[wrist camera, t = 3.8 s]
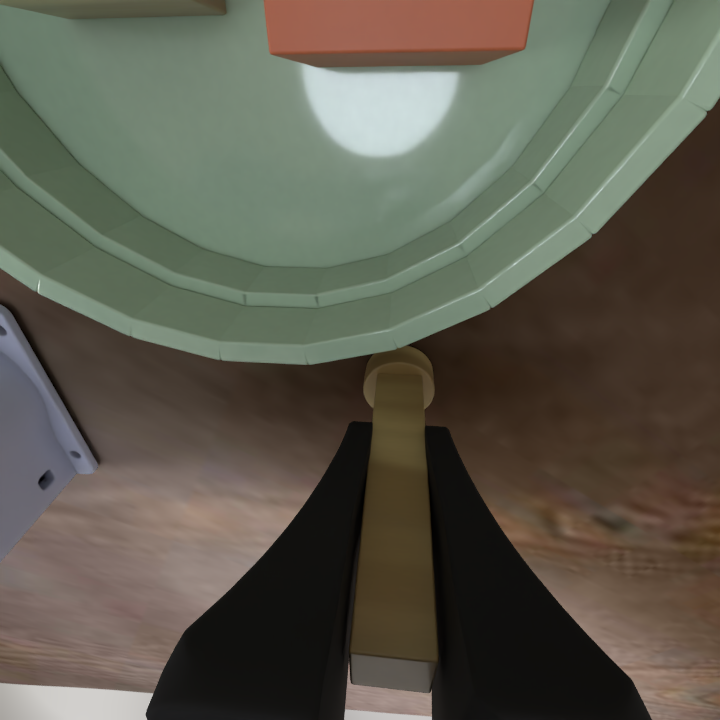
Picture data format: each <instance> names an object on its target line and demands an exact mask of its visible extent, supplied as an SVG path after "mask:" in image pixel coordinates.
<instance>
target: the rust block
mask: <svg viewBox="0 0 720 720" xmlns="http://www.w3.org/2000/svg"><path fill="white" fill-rule="evenodd" d="M533 5H534V0H264V10H265V19H266V28H267V37H268V46H269V52H270V54H271V55H274V56H277V57H281V58H285V59H288V60H292V61H296V62H299V63H303V64H307V65H310V66H314V67H377V66H443V65H482V64H485V63H488V62H491V61H494V60H497V59H500V58H502V57H505V56H508V55H511V54H514V53H517V52H519V51H522V50H524V49H525V47H526V43H527V38H528V32H529V27H530V21H531V16H532V10H533Z"/></svg>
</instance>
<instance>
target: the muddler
mask: <svg viewBox="0 0 720 720" xmlns="http://www.w3.org/2000/svg"><path fill="white" fill-rule="evenodd" d="M363 392H364V396H365V398H366V400H367V402H368V404H369V405H370V406H371V407H372V408H373V418H372V422H373V430H372V440H371V450H370V457H369V462H368V467H367V476H366V486H365V496H364V506H363V516H362V525H361V535H360V545H359V555H358V565H357V575H356V584H355V594H354V604H353V614H352V624H351V633H350V643H349V663H350V680H351V683H352V684H354V685H363V686H371V687H380V688H388V689H397V690H405V691H414V692H422V693H430V692H431V689H432V685H433V681H434V678H435V674H436V670H437V667H438V663H439V649H438V632H437V615H436V598H435V581H434V564H433V547H432V530H431V513H430V496H429V479H428V467H427V460H426V449H425V411H424V409H426V408H427V407H428V406H429V404H430V403H431V401H432V400H433V397H434V393H435V386H434V376H433V368H432V364H431V362H430V360H429V359H428V358H427V356H426V355H425V354H423V353H422V352H421V351H419V350H418V349H416V348H413V347H410V346H404V347H401V348H398V347H397V349H396V350H391V351H386V352H380V353H375V354H374V355H372V357H371V358H370V359H369V361H368V363H367V366H366V371H365V377H364V384H363Z"/></svg>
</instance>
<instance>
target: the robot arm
mask: <svg viewBox="0 0 720 720" xmlns="http://www.w3.org/2000/svg"><path fill="white" fill-rule="evenodd" d="M372 430H373V422H356V421H353V422H351V423H350V424H349V426H348V429H347V431H346V434H345V436H344V438H343V441H342V443H341V445H340V447H339V449H338V451H337V453H336V455H335V456H334V458H333V460H332V462H331V463H330V465H329V467H328V469H327V470H326V472H325V474H324V476H323V477H322V479H321V480H320V482H319V483H318V485H317V486H316V488H315V489H314V491H313V492H312V494H311V496H310V497H309V499H308V500H307V501H306V503H305V504H304V506H303V507H302V508H301V510H300V511H299V512H298V514H297V515H296V516H295V518H294V519H293V520H292V522H291V523H290V524H289V525H288V527H287V528H286V529H285V530H284V532H283V533H282V534H281V535H280V536H279V538H278V539H277V540H276V541H275V542H274V543H273V545H272V546H271V547H270V548H269V549H268V550H267V552H266V553H265V554H264V555H263V556H262V557H261V558H260V559H259V560H258V561H257V563H256V564H255V565H254V566H253V567H252V568H251V569H250V570H249V571H248V572H247V573H246V574H245V575H244V576H243V577H242V578H241V579H240V580H239V581H238V582H237V583H236V584H235V585H234V586H233V587H232V588H231V589H230V590H229V591H228V592H227V593H226V594H225V595H224V596H223V597H222V598H220V599H219V600H218V601H217V602H216V603H215V604H214V605H213V606H212V607H211V608H209V609H208V610H207V611H206V612H205V613H204V614H203V615H202V616H201V617H199V618H198V619H197V620H196V621H195V622H194V623H193V624H192V625H191V626H189V627H188V628H187V629H186V630H185V632H184V633H183V635H182V637H181V638H180V640H179V642H178V644H177V645H176V647H175V649H174V651H173V653H172V654H171V656H170V658H169V660H168V662H167V664H166V666H165V668H164V670H163V672H162V674H161V677H160V679H159V682H158V684H157V686H156V689H155V691H154V694H153V697H152V699H151V701H150V704H149V706H148V709H147V712H146V717H147V720H344V712H345V700H346V688H347V676H348V664H349V643H350V633H351V624H352V614H353V604H354V594H355V584H356V575H357V565H358V555H359V545H360V535H361V525H362V516H363V506H364V496H365V486H366V476H367V467H368V462H369V457H370V450H371V440H372ZM425 449H426V460H427V467H428V479H429V496H430V513H431V530H432V547H433V564H434V581H435V598H436V615H437V632H438V649H439V663H438V667H437V670H436V674H435V678H434V681H433V685H432V720H652V719H651V717H650V715H649V713H648V711H647V709H646V707H645V705H644V703H643V701H642V699H641V697H640V695H639V693H638V691H637V689H636V687H635V685H634V683H633V681H632V680H631V679H630V678H629V677H628V676H627V675H626V674H625V673H624V672H623V671H622V670H621V669H620V668H619V667H618V666H617V665H616V664H615V663H614V662H613V661H612V660H611V659H610V658H609V657H608V656H607V655H606V653H605V652H604V651H603V650H602V649H601V648H600V647H599V646H598V645H597V644H596V643H595V642H594V641H593V640H592V639H591V638H590V637H589V636H588V635H587V634H586V633H585V632H584V630H583V629H582V628H581V627H580V626H579V625H578V624H577V623H576V622H575V621H574V619H573V618H572V617H571V616H570V615H569V614H568V613H567V612H566V611H565V610H564V608H563V607H562V606H561V605H560V604H559V603H558V601H557V600H556V599H555V598H554V597H553V595H552V594H551V593H550V592H549V591H548V589H547V588H546V587H545V586H544V585H543V583H542V582H541V581H540V580H539V579H538V577H537V576H536V575H535V574H534V573H533V571H532V570H531V569H530V568H529V566H528V565H527V564H526V562H525V561H524V560H523V558H522V557H521V556H520V554H519V553H518V552H517V550H516V549H515V548H514V546H513V545H512V544H511V542H510V541H509V539H508V538H507V537H506V535H505V534H504V532H503V531H502V529H501V528H500V526H499V525H498V523H497V522H496V520H495V519H494V517H493V515H492V514H491V512H490V511H489V509H488V507H487V506H486V504H485V503H484V501H483V499H482V497H481V496H480V494H479V492H478V491H477V489H476V487H475V485H474V483H473V481H472V480H471V478H470V476H469V474H468V472H467V470H466V468H465V466H464V464H463V462H462V460H461V458H460V456H459V454H458V451H457V449H456V447H455V445H454V442H453V440H452V437H451V434H450V431H449V430H448V429H447V428H446V427H439V426H425ZM97 468H98V464H97V461H96V460H95V458H94V456H93V455H92V453H91V451H90V449H89V448H88V446H87V444H86V442H85V441H84V439H83V437H82V435H81V434H80V432H79V430H78V428H77V427H76V425H75V423H74V421H73V420H72V418H71V416H70V414H69V413H68V411H67V409H66V407H65V406H64V404H63V402H62V400H61V399H60V397H59V395H58V393H57V392H56V390H55V388H54V386H53V385H52V383H51V381H50V379H49V378H48V376H47V374H46V373H45V371H44V369H43V367H42V366H41V364H40V362H39V360H38V359H37V357H36V355H35V353H34V352H33V350H32V348H31V346H30V345H29V343H28V341H27V339H26V338H25V336H24V334H23V332H22V331H21V329H20V327H19V325H18V324H17V322H16V320H15V318H14V317H13V315H12V313H11V312H10V311H9V310H8V309H7V308H6V307H4V306H2V305H0V562H1V561H2V560H3V559H4V558H5V556H6V555H7V554H8V553H9V552H10V551H11V549H12V548H13V547H14V546H15V545H16V544H17V542H18V541H19V540H20V539H21V538H22V537H23V535H24V534H25V533H26V532H27V531H28V530H29V528H30V527H31V526H32V525H33V524H34V523H35V521H36V520H37V519H38V518H39V517H40V516H41V514H42V513H43V512H44V511H45V510H46V509H47V508H48V506H49V505H50V504H51V503H52V502H53V501H54V499H55V498H56V497H57V496H58V495H59V494H60V492H61V491H62V490H63V489H64V488H65V487H66V485H67V484H68V483H69V482H70V481H71V480H72V478H73V477H74V476H75V475H76V474H77V473H78V474H92V473H94V472H95V470H96V469H97Z"/></svg>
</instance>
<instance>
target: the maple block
mask: <svg viewBox="0 0 720 720" xmlns="http://www.w3.org/2000/svg"><path fill="white" fill-rule="evenodd" d="M0 4H1V5H5V6H10V7H15V8H19V9H24V10H28V11H33V12H38V13H42V14H47V15H52V16H56V17H61V18H66V19H97V18H134V17H171V16H208V15H225V14H226V4H225V0H0Z"/></svg>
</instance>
